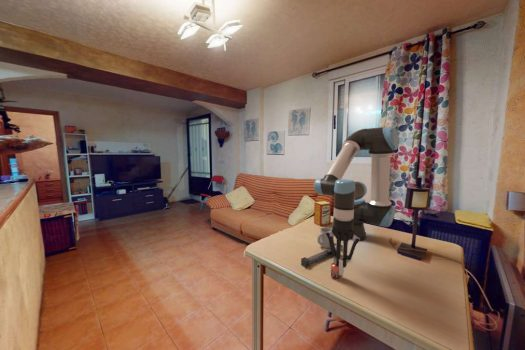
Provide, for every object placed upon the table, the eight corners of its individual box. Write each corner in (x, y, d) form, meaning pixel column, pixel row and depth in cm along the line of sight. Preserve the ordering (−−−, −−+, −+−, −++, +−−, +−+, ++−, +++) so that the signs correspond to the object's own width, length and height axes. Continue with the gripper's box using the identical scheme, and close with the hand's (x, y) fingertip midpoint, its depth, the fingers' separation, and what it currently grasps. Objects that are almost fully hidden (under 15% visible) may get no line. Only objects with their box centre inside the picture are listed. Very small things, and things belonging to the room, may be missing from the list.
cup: (336, 246, 109) (336, 231, 108) (322, 250, 104) (322, 234, 103) (326, 241, 115) (327, 226, 114) (313, 244, 111) (313, 229, 110)
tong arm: (330, 251, 103) (331, 242, 102) (342, 253, 101) (342, 244, 100) (327, 276, 82) (327, 265, 82) (341, 280, 80) (342, 268, 79)
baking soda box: (323, 221, 148) (324, 200, 146) (330, 224, 142) (331, 202, 140) (314, 223, 144) (314, 202, 142) (320, 226, 138) (321, 204, 136)
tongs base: (332, 251, 104) (332, 244, 103) (342, 256, 99) (342, 248, 98) (301, 265, 91) (301, 256, 91) (310, 271, 86) (311, 263, 86)
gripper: (362, 218, 79) (359, 273, 81) (329, 213, 86) (327, 264, 88) (359, 224, 72) (356, 283, 75) (324, 218, 79) (322, 272, 82)
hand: (341, 273), depth 82 cm, fingers closed
